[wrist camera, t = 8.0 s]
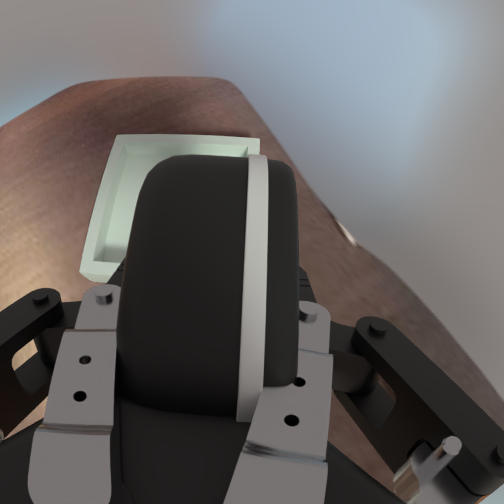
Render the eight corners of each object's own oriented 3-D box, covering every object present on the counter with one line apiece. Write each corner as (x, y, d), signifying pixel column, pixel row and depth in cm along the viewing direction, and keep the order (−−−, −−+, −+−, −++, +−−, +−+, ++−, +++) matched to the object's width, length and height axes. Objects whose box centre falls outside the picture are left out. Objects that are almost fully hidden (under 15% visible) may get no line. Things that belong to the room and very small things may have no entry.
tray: (91, 281, 29) (79, 272, 26) (123, 150, 35) (116, 134, 32) (251, 294, 30) (253, 286, 27) (257, 155, 36) (259, 138, 33)
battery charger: (183, 267, 17) (135, 117, 7) (253, 272, 18) (298, 126, 7) (173, 396, 15) (82, 445, 4) (248, 401, 15) (300, 466, 5)
